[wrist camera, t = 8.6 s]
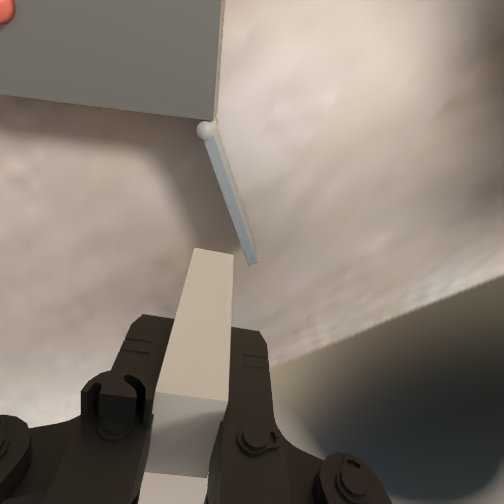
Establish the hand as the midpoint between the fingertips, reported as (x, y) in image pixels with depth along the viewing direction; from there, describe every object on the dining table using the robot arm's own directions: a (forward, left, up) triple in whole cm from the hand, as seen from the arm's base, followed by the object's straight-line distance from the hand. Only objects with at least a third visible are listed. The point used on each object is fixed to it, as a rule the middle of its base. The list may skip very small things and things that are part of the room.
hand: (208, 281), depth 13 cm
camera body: (+9, -8, -20) cm, 23 cm away
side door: (-1, +1, -20) cm, 20 cm away
